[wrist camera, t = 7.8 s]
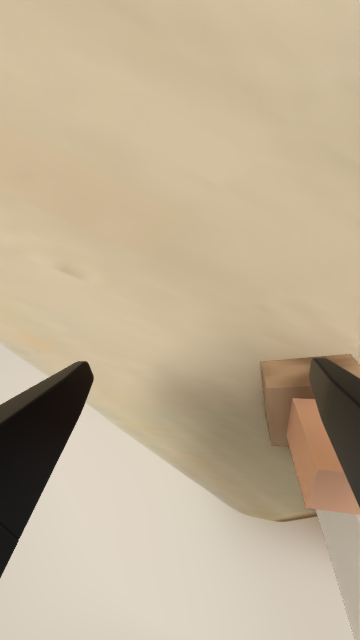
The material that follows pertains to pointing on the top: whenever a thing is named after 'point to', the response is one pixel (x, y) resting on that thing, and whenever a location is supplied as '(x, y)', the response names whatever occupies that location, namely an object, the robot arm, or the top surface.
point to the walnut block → (291, 389)
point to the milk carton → (345, 559)
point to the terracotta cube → (317, 461)
